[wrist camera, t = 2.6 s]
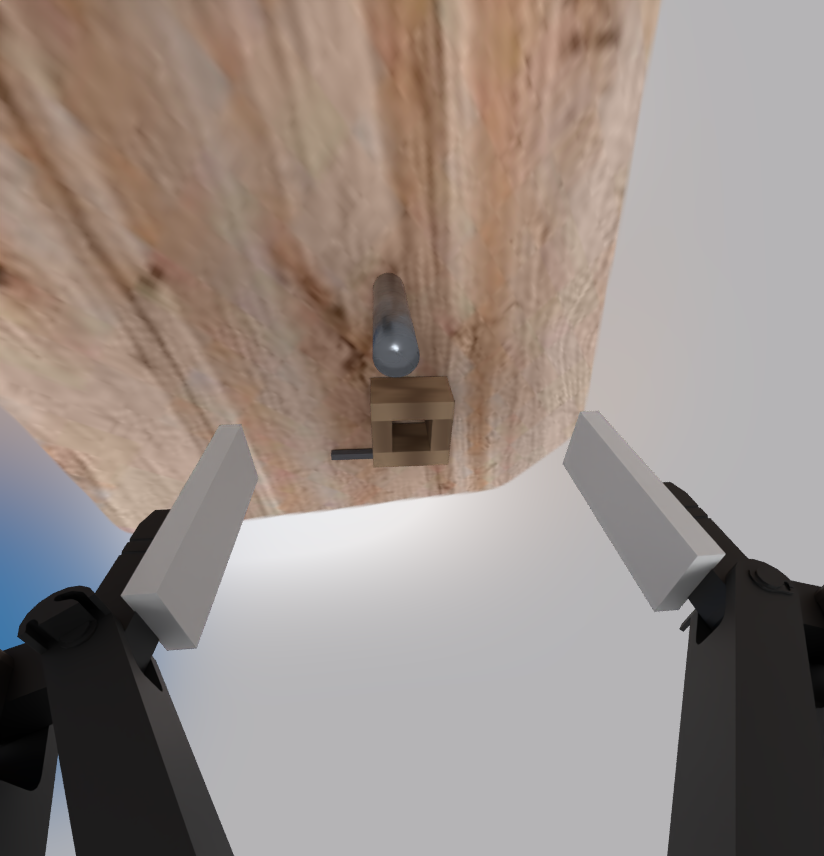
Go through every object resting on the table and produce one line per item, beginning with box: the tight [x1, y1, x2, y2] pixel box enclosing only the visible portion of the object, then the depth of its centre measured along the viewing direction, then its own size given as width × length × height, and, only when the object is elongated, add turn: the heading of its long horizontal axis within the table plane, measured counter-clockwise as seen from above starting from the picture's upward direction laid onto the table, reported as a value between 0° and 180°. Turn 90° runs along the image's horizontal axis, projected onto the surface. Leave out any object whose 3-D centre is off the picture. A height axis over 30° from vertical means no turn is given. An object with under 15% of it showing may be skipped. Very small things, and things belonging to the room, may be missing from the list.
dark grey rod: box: [331, 449, 373, 460], centre depth 44 cm, size 14×1×1 cm, turn 89°
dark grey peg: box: [373, 273, 420, 378], centre depth 28 cm, size 3×3×14 cm
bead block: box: [370, 377, 455, 467], centre depth 39 cm, size 8×8×5 cm
